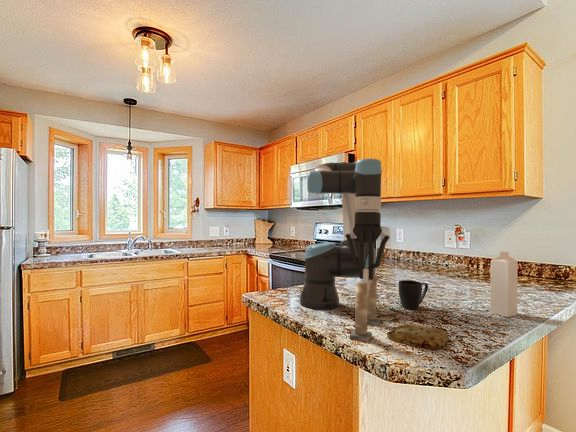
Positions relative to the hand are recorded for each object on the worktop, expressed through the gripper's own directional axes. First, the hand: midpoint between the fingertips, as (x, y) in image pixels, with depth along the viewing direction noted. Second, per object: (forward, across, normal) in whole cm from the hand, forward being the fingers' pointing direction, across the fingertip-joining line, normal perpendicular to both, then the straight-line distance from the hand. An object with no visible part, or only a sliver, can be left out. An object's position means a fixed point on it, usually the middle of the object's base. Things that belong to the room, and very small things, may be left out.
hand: (366, 290), depth 93 cm
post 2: (+12, 0, +6) cm, 13 cm away
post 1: (+11, 0, -8) cm, 14 cm away
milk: (+12, +40, +39) cm, 57 cm away
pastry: (+12, +14, 0) cm, 19 cm away
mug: (+12, +11, +32) cm, 36 cm away
